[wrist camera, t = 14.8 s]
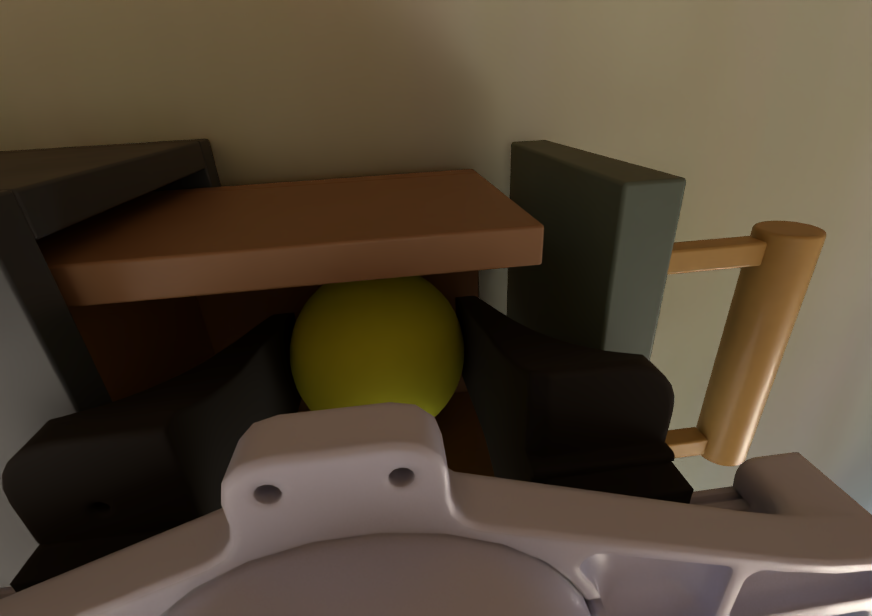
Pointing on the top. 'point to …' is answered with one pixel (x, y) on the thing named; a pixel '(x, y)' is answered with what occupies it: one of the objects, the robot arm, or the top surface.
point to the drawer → (435, 273)
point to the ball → (377, 345)
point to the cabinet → (40, 296)
